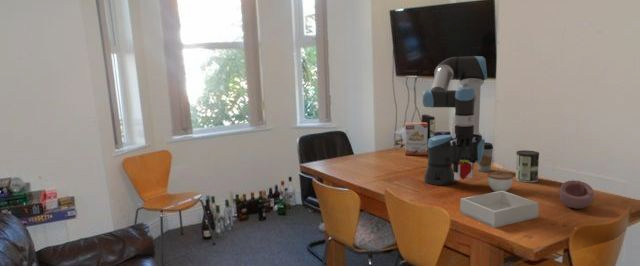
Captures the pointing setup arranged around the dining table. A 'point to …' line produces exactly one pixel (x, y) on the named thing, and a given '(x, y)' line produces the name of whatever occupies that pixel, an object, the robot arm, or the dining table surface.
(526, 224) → the dining table surface
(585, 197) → the mortar and pestle
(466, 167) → the strawberry
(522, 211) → the bin
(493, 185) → the lidded jar
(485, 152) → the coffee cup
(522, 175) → the coffee can
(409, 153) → the cracker box
